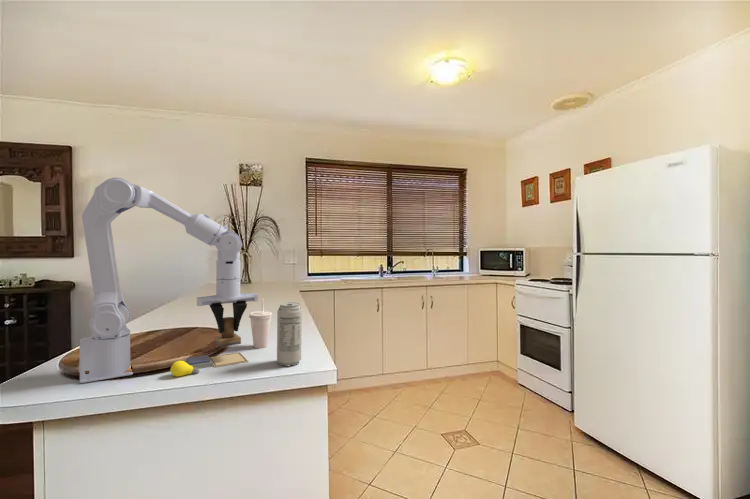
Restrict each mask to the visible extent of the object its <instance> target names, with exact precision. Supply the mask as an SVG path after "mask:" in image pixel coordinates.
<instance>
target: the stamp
mask: <svg viewBox="0 0 750 499" xmlns="http://www.w3.org/2000/svg"><path fill="white" fill-rule="evenodd" d="M214 343H215V344H216V345H218V347H220V348H222V347H223V348H224V347H230V346H236V345H241V344H242V337H241V336H239V335H238V334H237V333H235V331H234V316H226V317H225V316H224V317H223V333H221V335H219V334H218V335H215V336H214Z"/></svg>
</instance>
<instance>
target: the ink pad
mask: <svg viewBox="0 0 750 499" xmlns="http://www.w3.org/2000/svg"><path fill="white" fill-rule="evenodd" d="M209 357H210V355H207V354H204V355H197V356H193V357H191V356H190V357H187V358H185V359H183V361H184V362H186V363H187V364H189V365H191V366H193V367H194V368H198V369H199V370H200V369H205V368H209V367H214V366H213V362H212V361H211V359H210V358H209Z"/></svg>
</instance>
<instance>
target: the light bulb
mask: <svg viewBox="0 0 750 499" xmlns="http://www.w3.org/2000/svg"><path fill="white" fill-rule="evenodd" d="M170 373H171V375H172V376H174V377H177V378H179V377H184V376H186V375H193V374H194V375H196V374H198V373H200V368H199V369H198V368H194V367H193V366H191V365H189V364H187V363H186V362H184V360H177V361H175V362H173V363H172V365H171V367H170Z"/></svg>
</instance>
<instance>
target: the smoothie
mask: <svg viewBox="0 0 750 499" xmlns="http://www.w3.org/2000/svg"><path fill="white" fill-rule="evenodd" d="M264 301H265V298H264V297H262V298H261V310H259V311H252V312H250V313H249V314H248V318H249V319H250V327H251V335H252V344H253V348H254V349H265V348H267V347H268V342H269V335H270V326H271V320H272V319H271V318H272V317H273V312H271V311H268V310H265V303H264Z"/></svg>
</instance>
